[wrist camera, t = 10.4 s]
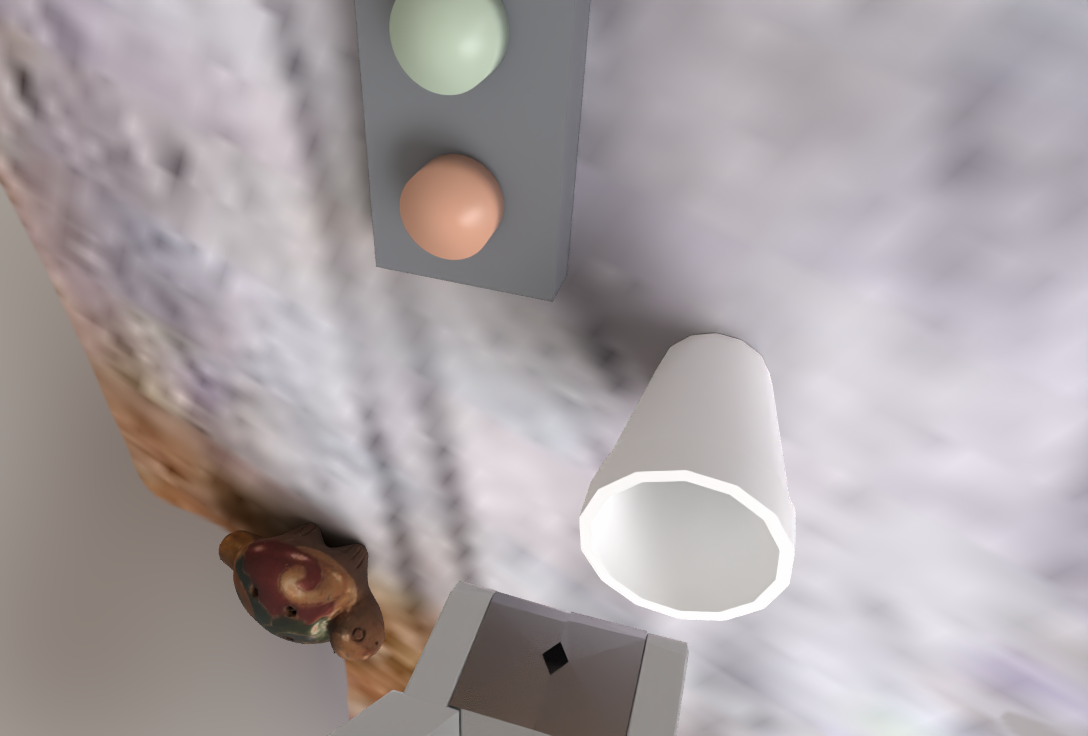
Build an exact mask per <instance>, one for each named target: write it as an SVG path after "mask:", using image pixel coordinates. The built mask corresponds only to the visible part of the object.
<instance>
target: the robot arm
mask: <svg viewBox="0 0 1088 736" xmlns="http://www.w3.org/2000/svg"><path fill="white" fill-rule="evenodd" d="M646 634H647V631H645V630H641V629H637V628H633V627H629V626H625V625H621V624H617V623H614V622H610V621H606V620H602V619H598V618H594V617H590V616H586V615H582V614H578V613H574V612H566V611H563V610H559V609H556V608H552V607H549V606H546V605H542V604H539V603H535V602H532V601H528V600H525V599H521V598H518V597H514V596H511V595H507V594H504V593H500V592H497V591H495V590H491V589H488V588H484V587H480V586H477V585H473V584H469V583H466V582H462V581H459V582H458V583H457V584H456V586H455V587H454V588H453V590H452V591H451V592H450V594H449V597H448V599H447V601H446V603H445V605H444V607H443V609H442V612H441V614H440V616H439V618H438V620H437V622H436V625H435V627H434V629H433V631H432V633H431V635H430V637H429V640H428V642H427V644H426V646H425V648H424V650H423V653H422V655H421V657H420V659H419V661H418V663H417V665H416V668H415V670H414V672H413V674H412V676H411V678H410V681H409V683H408V685H407V687H406V689H405V691H404V693H402V692H398V691H394V690H392V691H391V692H389V693H388V694H386V695H385V696H383V697H382V698H381V699H379V700H378V701H376V702H375V703H373V704H372V705H371V706H369V707H368V708H366V709H365V710H363V711H362V712H361V713H359V714H358V715H356V716H355V717H354V718H352V719H351V720H349V721H348V722H347V723H345V724H344V725H342V726H341V727H339V728H338V729H336V730H335V731H334V732H332V733H331V734H329V735H328V736H676V735H677V728H678V721H679V714H680V708H681V701H682V694H683V688H684V681H685V674H686V667H687V661H688V654H689V651H688V643H686V642H682V641H678V640H674V639H670V638H666V637H662V636H658V635H654V634H650V633H648V634H647V636H646Z"/></svg>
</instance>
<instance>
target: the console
mask: <svg viewBox="0 0 1088 736" xmlns="http://www.w3.org/2000/svg"><path fill="white" fill-rule="evenodd" d="M395 1H396V0H355V11H356V24H357V36H358V48H359V61H360V73H361V85H362V98H363V110H364V123H365V135H366V147H367V160H368V172H369V184H370V197H371V209H372V221H373V234H374V246H375V259H376V267H380V268H385V269H390V270H395V271H400V272H405V273H411V274H416V275H421V276H426V277H431V278H436V279H441V280H446V281H451V282H456V283H461V284H466V285H471V286H476V287H481V288H486V289H491V290H496V291H501V292H506V293H511V294H516V295H521V296H526V297H531V298H537V299H542V300H547V301H552V302H553V300H554V298H555V296H556V294H557V293H558V291H559V289H560V287H561V285H562V283H563V281H564V279H565V277H566V275H567V268H568V256H569V245H570V233H571V221H572V210H573V198H574V187H575V175H576V163H577V152H578V140H579V128H580V117H581V105H582V94H583V82H584V70H585V59H586V47H587V36H588V24H589V12H590V1H591V0H501V1H502V3H503V5H504V8H505V11H506V14H507V18H508V23H509V42H508V46H507V50H506V53H505V56H504V58H503V59H502V61H501V63H500V64H499V66H498V67H497V68H496V69H495V70H494V71H493V72H492V73H491V74H490V75H488V76H487V77H486V78H485V79H484V80H482V81H481V82H480V83H479V84H478V85H476V86H475V87H474V88H472V89H471V90H469V91H467V92H464V93H462V94H457V95H441V94H437V93H434V92H431V91H428V90H427V89H425V88H423V87H421V86H420V85H418V84H417V83H416V82H414V81H413V80H412V79H411V78H410V77H409V76H408V75H407V74H406V72H405V71H404V70H403V68H402V67H401V65H400V64H399V62H398V60H397V58H396V56H395V54H394V51H393V48H392V44H391V40H390V32H389V23H390V15H391V11H392V8H393V5H394V3H395ZM445 154H460V155H464V156H467V157H470V158H472V159H474V160H476V161H478V162H479V163H481V164H482V165H483V166H485V167H486V168H487V169H488V170H489V171H490V172H491V173H492V175H493V176H494V177H495V179H496V180H497V182H498V184H499V186H500V188H501V191H502V194H503V199H504V213H503V217H502V220H501V223H500V224H499V226H498V228H497V229H496V230H495V232H494V233H493V234H492V236H491V237H490V238H489V240H488V241H487V243H486V244H485V245H484V246H483V248H482V249H481V250H480V251H479V252H477V253H476V254H474V255H473V256H471V257H468V258H465V259H460V260H448V259H443V258H439V257H437V256H434V255H432V254H430V253H428V252H427V251H425V250H424V249H422V248H421V247H420V246H419V245H418V244H417V243H416V242H415V241H414V240H413V239H412V238H411V236H410V235H409V234H408V232H407V230H406V228H405V226H404V224H403V222H402V219H401V215H400V197H401V193H402V190H403V188H404V186H405V185H406V183H407V182H408V181H409V180H410V179H411V178H412V177H413V176H414V175H415V174H416V173H417V172H418V171H419V170H420V169H421V168H423V167H424V166H425V165H426V164H427V163H428V162H429V161H431V160H432V159H434V158H436V157H438V156H441V155H445Z"/></svg>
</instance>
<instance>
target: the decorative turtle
mask: <svg viewBox="0 0 1088 736" xmlns="http://www.w3.org/2000/svg"><path fill="white" fill-rule="evenodd" d="M219 556H220V559H221V560H222V561H223V562H224V563H225V564H227V565H228V566H229V567H230V568H231V569H232V570H233V571H234V574H233V578H234V584H235V589H236V592H237V594H238V597H239V599H240V600H241V603H242V604H243V606H244V607H245V609H246V610H247V612H248V613H249V614H250V615H251V616H252V617H253V618H254V619H255V620H256V621H257V622H258V623H259V624H260V625H262V626H263V627H264V628H265V629H266V630H268V631H269V632H270V633H272V634H274V635H276V636H278V637H280V638H283V639H285V640H288V641H292V642H296V643H301V644H315V643H325V642H329V641H330V643H331V646H332V648H333V650H334V651H335V652H336V653H337V655H339V656H340V657H342V658H344V659H346V660H350V661H362V660H366V659H368V658H370V657H371V656H373V655H374V654H375V653H376V652H377V651H378V650H379V649H380V647H381V645H382V643H383V641H384V639H385V633H384V621H383V617H382V613H381V610H380V607H379V605H378V603H377V602H376V600H375V598H374V596H373V595H372V593H371V591H370V588H369V586H368V577H367V568H368V552H367V550H366V548H365V546H363V545H361V544H351V545H346V546H342V547H336V548H330V547H327V546H326V545H325V543H324V540H323V537H322V534H321V532H320V529H319V527H318V526H317V525H316V524H314V523H307V524H305V525H302V526H299V527H297V528H295V529H293V530H291V531H289V532H288V533H286V534H283V535H279V536H274V537H270V538H266V539H265V538H263V537H260V536H257V535H255V534H252V533H249V532H247V531H235V532H233V533H231V534H229V535H227V536H226V537H225V538H224V539H223V541H222V542H221V544H220V547H219ZM335 652H334V653H335Z"/></svg>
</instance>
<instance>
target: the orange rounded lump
mask: <svg viewBox="0 0 1088 736" xmlns="http://www.w3.org/2000/svg"><path fill="white" fill-rule="evenodd" d="M503 213H504V199H503V194H502V191H501V188H500V186H499V184H498V182H497V180H496V179H495V177H494V176H493V175H492V173H491V172H490V171H489V170H488V169H487V168H486V167H485V166H483V165H482V164H481V163H479V162H478V161H476V160H474V159H472V158H470V157H467V156H464V155H460V154H445V155H441V156H438V157H436V158H434V159H432V160H431V161H429V162H428V163H427V164H426V165H425V166H424V167H423V168H421V169H420V170H419V171H418V172H417V173H416V174H415V175H414V176H413V177H412V178H411V179H410V180H409V181H408V182H407V183H406V185H405V186H404V188H403V190H402V193H401V197H400V215H401V219H402V222H403V224H404V226H405V228H406V230H407V232H408V234H409V235H410V236H411V238H412V239H413V240H414V241H415V242H416V243H417V244H418V245H419V246H420V247H421V248H422V249H424V250H425V251H427V252H428V253H430V254H432V255H434V256H437V257H439V258H443V259H448V260H460V259H465V258H468V257H471V256H473V255H474V254H476V253H477V252H479V251H480V250H481V249H482V248H483V246H484V245H485V244H486V243H487V241H488V240H489V238H490V237H491V236H492V234H493V233H494V232H495V230H496V229H497V228H498V226H499V224H500V223H501V220H502V217H503Z"/></svg>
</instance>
